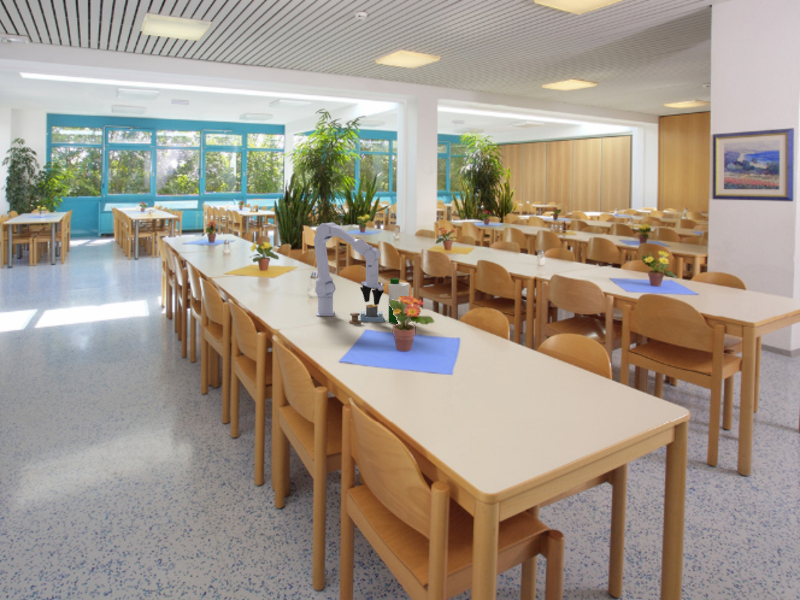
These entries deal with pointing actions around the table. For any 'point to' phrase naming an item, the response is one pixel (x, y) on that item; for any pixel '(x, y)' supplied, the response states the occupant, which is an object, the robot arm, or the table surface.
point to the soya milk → (396, 294)
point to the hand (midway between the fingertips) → (371, 303)
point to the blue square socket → (371, 319)
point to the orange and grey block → (371, 310)
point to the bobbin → (354, 318)
